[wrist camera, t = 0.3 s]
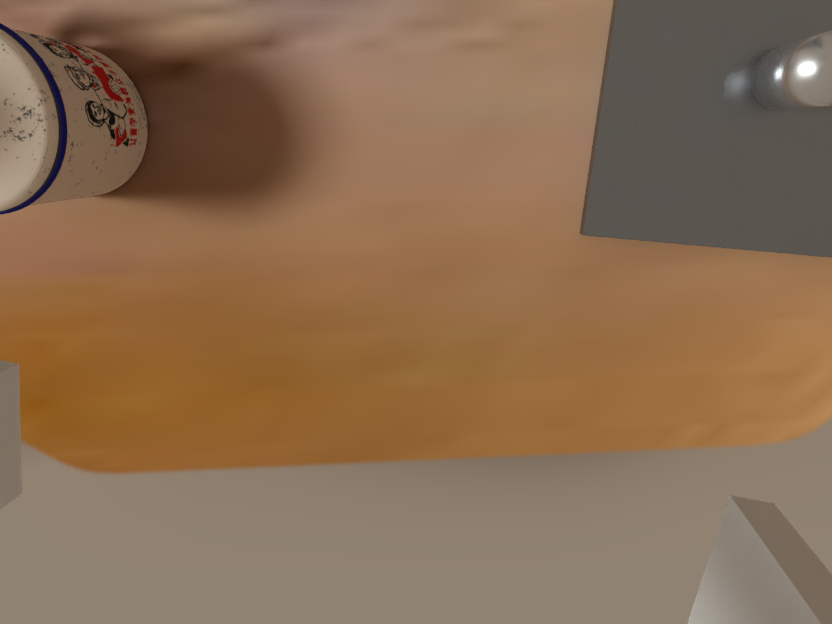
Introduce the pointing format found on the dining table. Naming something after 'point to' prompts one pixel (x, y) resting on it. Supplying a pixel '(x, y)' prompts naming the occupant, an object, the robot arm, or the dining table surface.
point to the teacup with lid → (64, 122)
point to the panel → (715, 126)
